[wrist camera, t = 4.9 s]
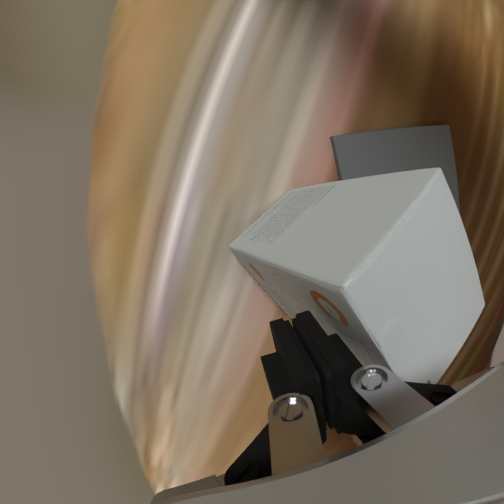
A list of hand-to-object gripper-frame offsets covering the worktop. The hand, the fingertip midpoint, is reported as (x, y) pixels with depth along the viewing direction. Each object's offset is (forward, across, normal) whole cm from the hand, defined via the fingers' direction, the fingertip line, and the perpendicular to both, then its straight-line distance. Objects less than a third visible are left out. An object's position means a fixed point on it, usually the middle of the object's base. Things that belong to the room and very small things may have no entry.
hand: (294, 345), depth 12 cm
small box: (+10, -3, 0) cm, 11 cm away
